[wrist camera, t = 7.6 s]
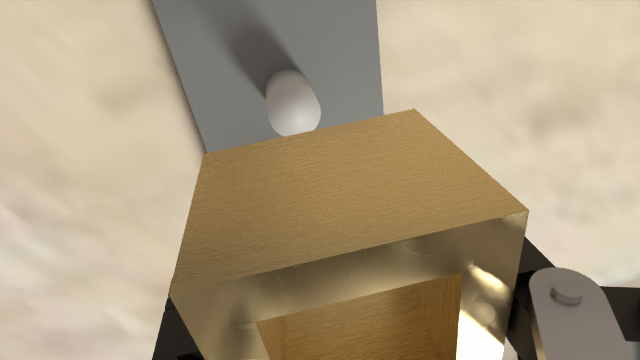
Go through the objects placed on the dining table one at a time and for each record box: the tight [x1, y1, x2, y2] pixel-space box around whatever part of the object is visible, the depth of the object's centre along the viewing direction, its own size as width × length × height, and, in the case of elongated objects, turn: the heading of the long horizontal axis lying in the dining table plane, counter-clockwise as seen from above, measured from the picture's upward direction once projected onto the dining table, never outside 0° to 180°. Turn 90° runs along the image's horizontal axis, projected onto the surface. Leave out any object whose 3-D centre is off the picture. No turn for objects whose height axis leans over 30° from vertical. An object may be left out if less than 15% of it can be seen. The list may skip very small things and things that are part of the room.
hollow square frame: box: [169, 109, 529, 360], centre depth 10 cm, size 6×6×5 cm
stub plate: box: [152, 0, 384, 153], centre depth 24 cm, size 12×24×6 cm, turn 9°
